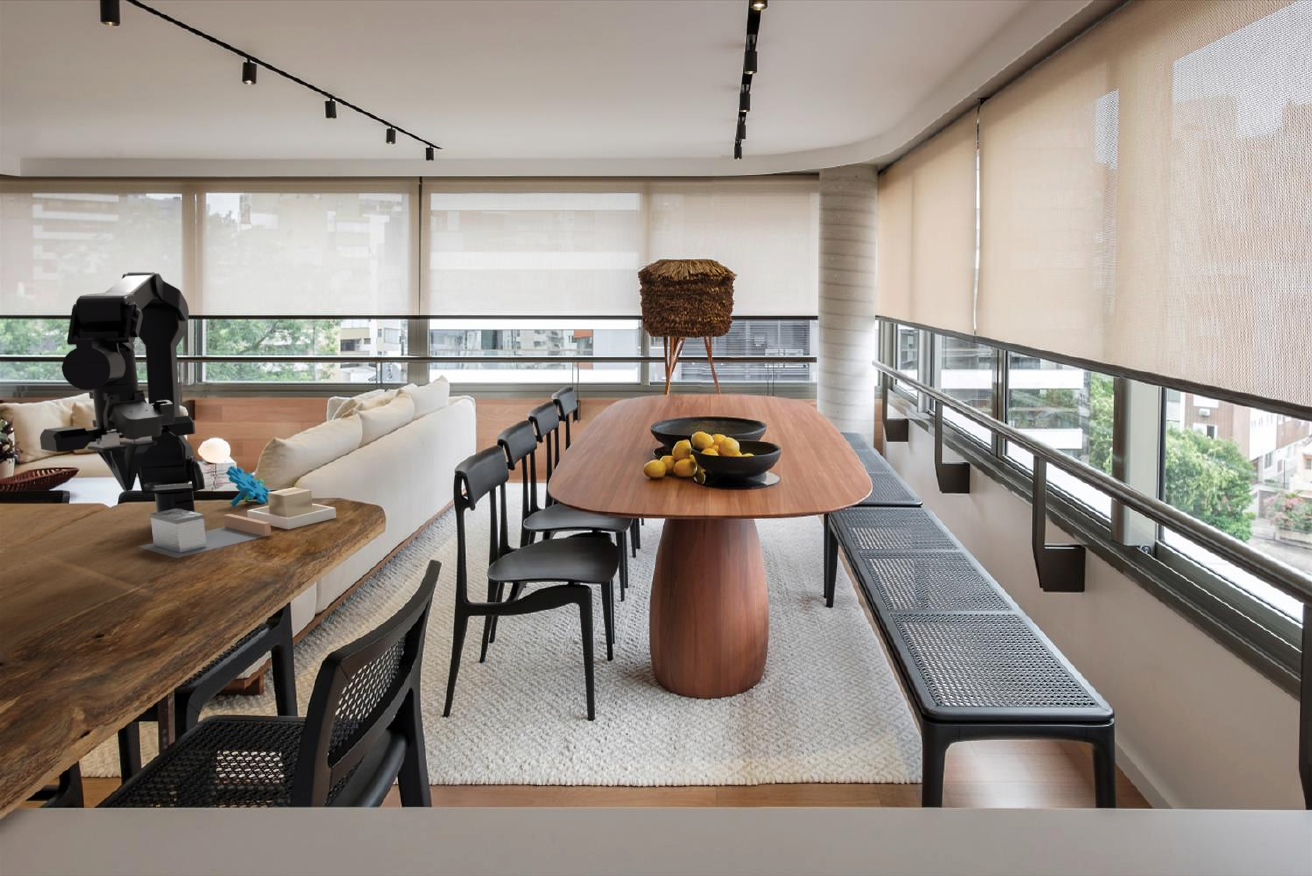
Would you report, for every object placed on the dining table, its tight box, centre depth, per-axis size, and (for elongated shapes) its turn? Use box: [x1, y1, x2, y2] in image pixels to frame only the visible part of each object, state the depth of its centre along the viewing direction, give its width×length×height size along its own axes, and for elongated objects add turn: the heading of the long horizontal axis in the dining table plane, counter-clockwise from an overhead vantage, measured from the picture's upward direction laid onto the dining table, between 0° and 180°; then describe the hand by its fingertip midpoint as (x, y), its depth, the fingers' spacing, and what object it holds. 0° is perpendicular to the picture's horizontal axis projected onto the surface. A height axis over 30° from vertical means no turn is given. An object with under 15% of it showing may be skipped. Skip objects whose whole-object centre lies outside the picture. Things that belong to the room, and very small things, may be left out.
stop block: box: [268, 486, 313, 518], centre depth 152 cm, size 5×5×5 cm
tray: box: [246, 503, 337, 530], centre depth 152 cm, size 12×9×2 cm
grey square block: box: [149, 508, 207, 553], centre depth 136 cm, size 8×4×5 cm, turn 54°
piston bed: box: [137, 513, 272, 559], centre depth 139 cm, size 12×15×3 cm
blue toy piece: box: [225, 465, 272, 507], centre depth 168 cm, size 11×6×10 cm
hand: (127, 490), depth 129 cm, fingers closed
